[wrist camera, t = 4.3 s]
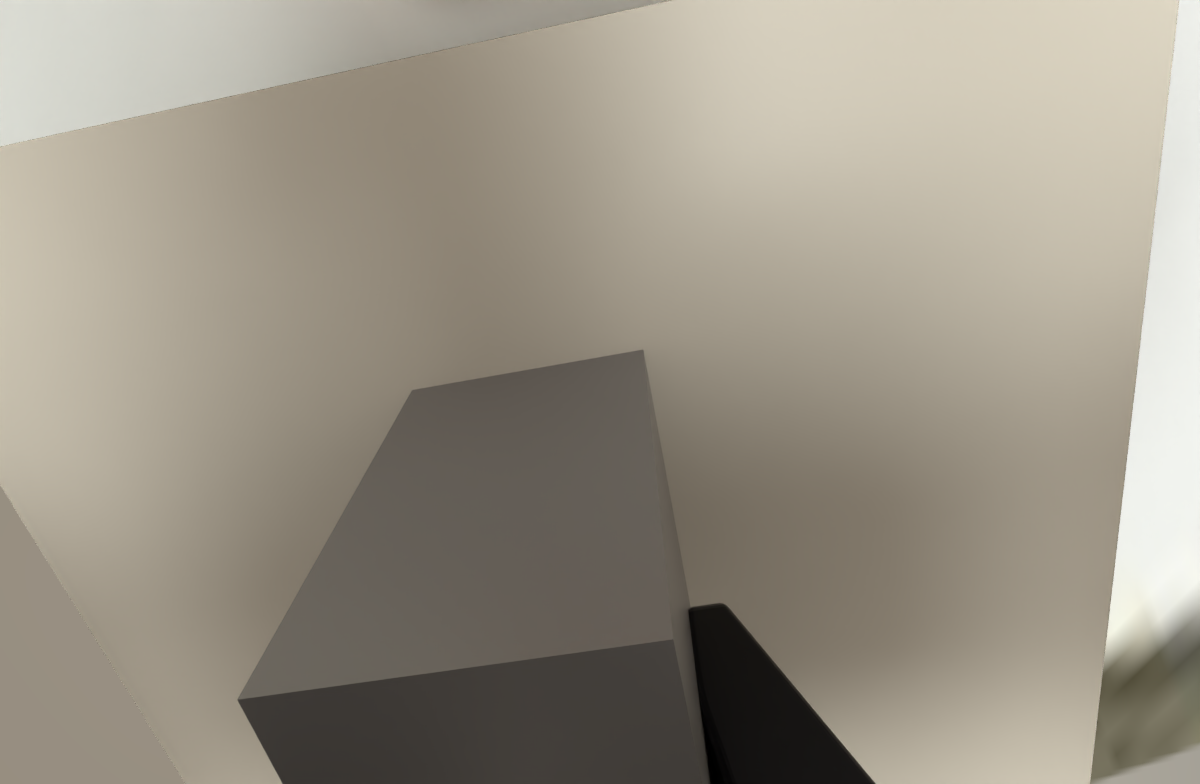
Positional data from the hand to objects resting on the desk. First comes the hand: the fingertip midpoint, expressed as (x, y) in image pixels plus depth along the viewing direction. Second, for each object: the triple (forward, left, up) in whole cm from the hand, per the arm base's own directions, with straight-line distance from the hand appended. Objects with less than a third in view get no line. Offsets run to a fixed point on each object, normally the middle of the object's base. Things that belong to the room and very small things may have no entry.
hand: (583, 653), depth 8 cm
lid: (0, 0, -1) cm, 1 cm away
